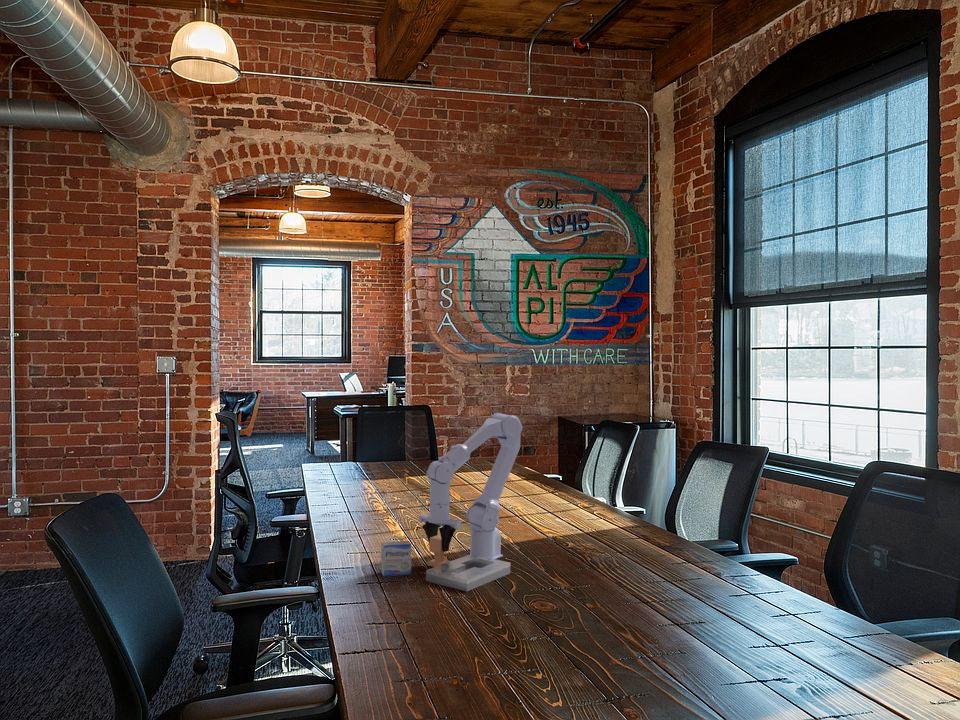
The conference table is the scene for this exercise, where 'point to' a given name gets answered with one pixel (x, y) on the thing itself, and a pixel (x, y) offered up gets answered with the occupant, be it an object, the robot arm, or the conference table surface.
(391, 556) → the medicine box
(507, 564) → the keyhole plate
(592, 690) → the conference table surface
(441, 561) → the headed stud
